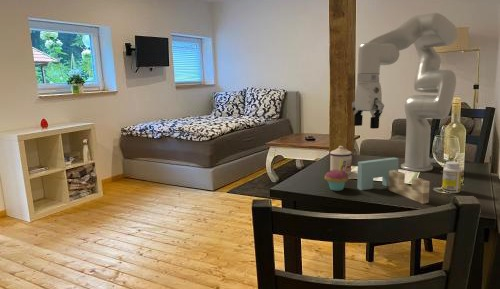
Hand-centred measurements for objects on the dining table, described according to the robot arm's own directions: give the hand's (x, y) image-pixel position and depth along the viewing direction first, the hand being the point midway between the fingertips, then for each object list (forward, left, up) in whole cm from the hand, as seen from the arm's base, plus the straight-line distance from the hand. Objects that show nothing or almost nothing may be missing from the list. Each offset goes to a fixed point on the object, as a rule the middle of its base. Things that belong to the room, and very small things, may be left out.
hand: (366, 126), depth 134 cm
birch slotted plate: (-6, +15, -22) cm, 28 cm away
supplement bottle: (-23, +17, -23) cm, 37 cm away
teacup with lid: (-4, -21, -23) cm, 31 cm away
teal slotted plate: (-4, +2, -22) cm, 23 cm away
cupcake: (+11, -2, -23) cm, 25 cm away
